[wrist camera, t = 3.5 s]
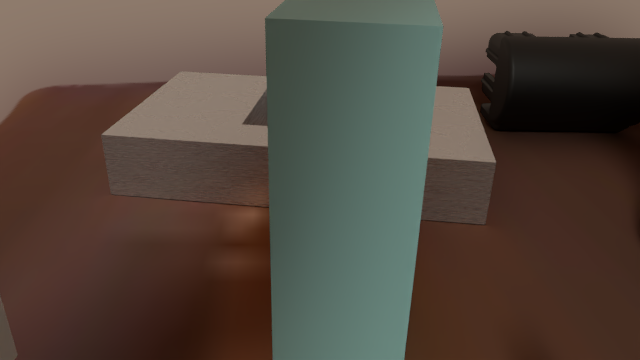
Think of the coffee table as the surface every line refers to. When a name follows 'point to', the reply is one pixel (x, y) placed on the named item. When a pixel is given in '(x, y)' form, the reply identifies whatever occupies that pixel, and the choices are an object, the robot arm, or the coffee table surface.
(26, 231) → the coffee table surface
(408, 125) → the teal post
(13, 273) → the coffee table surface
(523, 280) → the coffee table surface
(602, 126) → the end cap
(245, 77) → the grey rectangular frame
